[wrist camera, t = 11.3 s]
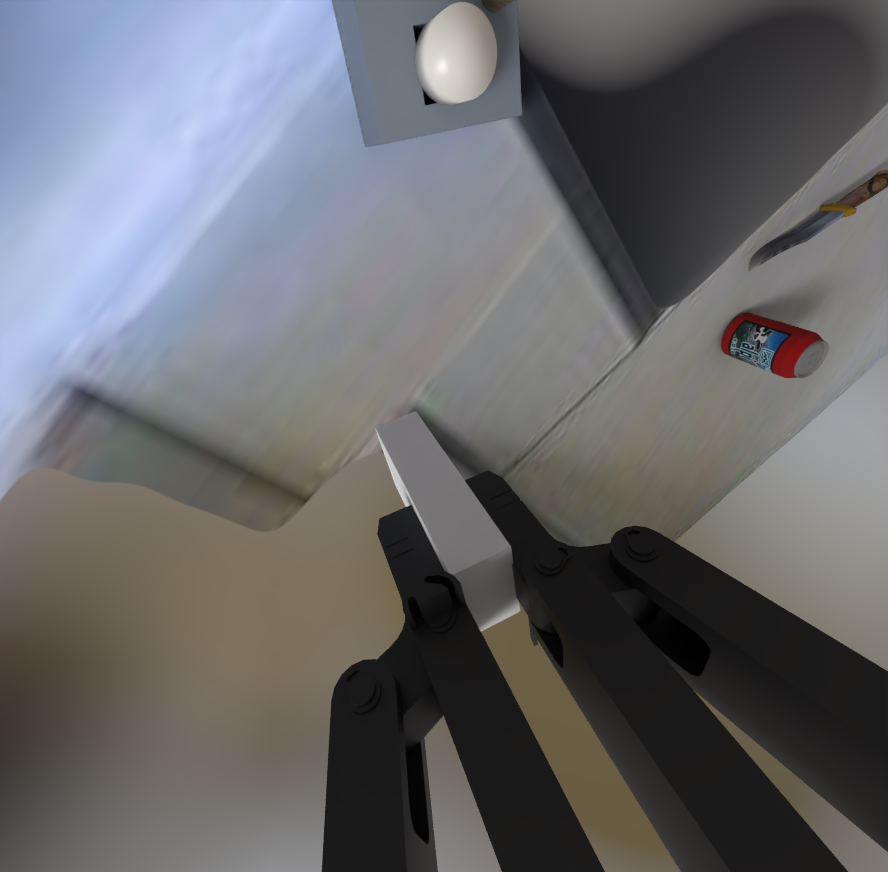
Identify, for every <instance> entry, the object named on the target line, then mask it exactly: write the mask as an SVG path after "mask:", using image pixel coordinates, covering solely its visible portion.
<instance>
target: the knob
mask: <svg viewBox="0 0 888 872" xmlns="http://www.w3.org/2000/svg"><path fill="white" fill-rule="evenodd" d="M496 63H497V44H496V38H495V34H494V31H493V28H492V26H491V23H490V22H489V20H488V18H487V17H486V15H485V14H484V13H483V12H482V11H481V10H480V9H479V8H478V7H476V6H475V5H473V4H470V3H467V2H457V3H454V4H451V5H449V6H448V7H447V8H445V9H444V10H443V11H441V12H440V13H439V14H437V15H436V16H435V17H434V18H432V19H431V20H430V21H429V22H428V23H427V24H426V25H425V26H424V27H423V29H422V31H421V32H420V34H419V37H418V40H417V43H416V48H415V68H416V73H417V76H418V79H419V82H420V84H421V86H422V89H423V96H424V100H429V99H432V100H433V101H435V102H437V103H439V104H441V105H447V106H450V105H455V104H459V103H462V102H466V101H469V100H473V99H475V98H477V97H478V96H480V95H481V94H482V93H483V92H484V91H485V90H486V89H487V87H488V86H489V84H490V82H491V80H492V78H493V75H494V72H495V68H496Z"/></svg>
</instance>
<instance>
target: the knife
mask: <svg viewBox="0 0 888 872" xmlns="http://www.w3.org/2000/svg"><path fill="white" fill-rule="evenodd" d="M887 186H888V170H882V171H880V172H878V173H877V174H876V175H875V176H874V177H873V178H871V179H870V180H868V181H867V182H865V183H864V184H862V185H861V186H859V187H858V188H856V189H855V190H853V191H852V192H850V193H849V194H848V195H846V196H845V197H843V198H842V199H841V200H840V201H838V202H837V203H836V204H828V205H821V206H820V212H819V213H818V214H816V215H815V216H813V217H812V218H810V219H809V220H808V221H806V222H805V223H803V224H801V225H800V226H798V227H797V228H795V229H793V230H791V231H790V232H788V233H786V234H784V235H782V236H780V237H778V238H776V239H774V240H772V241H771V242H769V243H767V244H766V245H764V246H763V247H762V248H760V249H759V250H758V251H757V252H756V253H755V255H754V256H753V257H752V259H751V261H750V264H749V271H751V270H752V269H754V268H756V267H757V266H759V265H761V264H762V263H764V262H766V261H767V260H769V259H770V258H772V257H774V256H776V255H777V254H779V253H781V252H783V251H785V250H787V249H789V248H791V247H793V246H796V245H798V244H801V243H803V242H806V241H808V240H809V239H811V238H812V237H813V236H815V235H816V234H818V233H819V232H821V231H822V230H823V229H825V228H826V227H828V226H829V225H831V224H832V223H834V222H835V221H836V220H838V219H839V218H841V217H847V216H850V215H853V214H855V213H856V208H855V207H856V206H858V205H860V204H861V203H863V202H865V201H866V200H868V199H869V198H871V197H873V196H874V195H876V194H877V193H879V192H880V191H882V190H883V189H885V188H886V187H887Z"/></svg>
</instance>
